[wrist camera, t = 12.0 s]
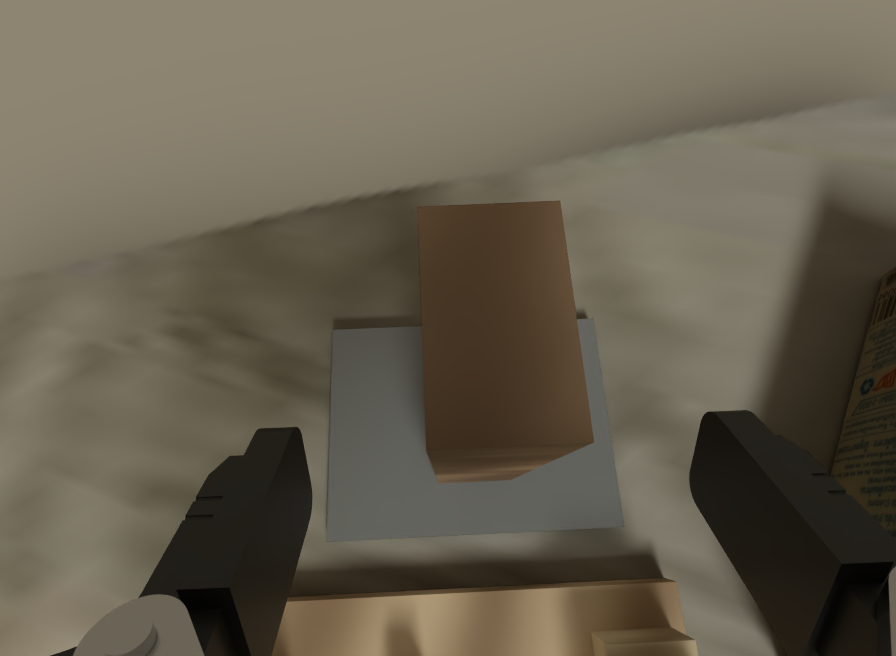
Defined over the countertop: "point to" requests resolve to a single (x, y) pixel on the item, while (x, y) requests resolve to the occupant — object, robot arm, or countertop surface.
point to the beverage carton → (873, 417)
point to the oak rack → (492, 621)
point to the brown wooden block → (499, 341)
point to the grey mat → (410, 471)
